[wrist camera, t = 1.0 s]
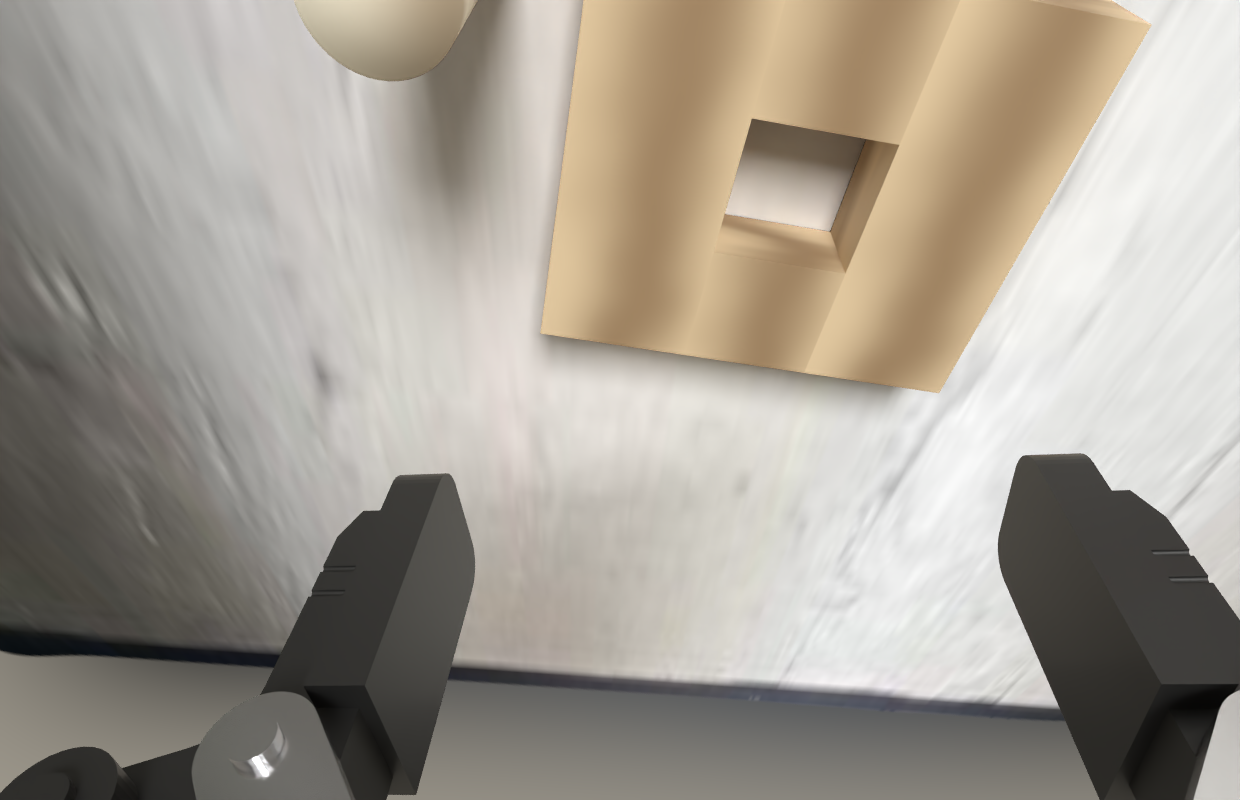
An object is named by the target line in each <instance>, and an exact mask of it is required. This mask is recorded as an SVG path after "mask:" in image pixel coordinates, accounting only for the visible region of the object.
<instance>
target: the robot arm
mask: <svg viewBox="0 0 1240 800" xmlns="http://www.w3.org/2000/svg"><path fill="white" fill-rule="evenodd" d="M998 556H999V563H1000V568H1001V572H1002V576H1003V578H1004V581H1005V583H1006V586H1007V588H1008V590H1009V593H1010V595H1011V597H1012V599H1013V602H1014V604H1015V606H1016V609H1017V611H1018V613H1019V616H1020V618H1021V620H1022V622H1023V625H1024V627H1025V629H1026V632H1027V634H1028V636H1029V638H1030V641H1031V643H1032V645H1033V648H1034V650H1035V652H1036V655H1037V657H1038V659H1039V661H1040V664H1041V666H1042V668H1043V671H1044V673H1045V675H1046V678H1047V680H1048V682H1049V684H1050V687H1051V689H1052V691H1053V694H1054V696H1055V698H1056V700H1057V703H1058V705H1059V707H1060V710H1061V712H1062V714H1063V717H1064V719H1065V721H1066V723H1067V725H1068V728H1069V730H1070V732H1071V734H1072V737H1073V739H1074V742H1075V744H1076V746H1077V749H1078V751H1079V753H1080V755H1081V758H1082V760H1083V762H1084V765H1085V767H1086V769H1087V772H1088V774H1089V776H1090V779H1091V781H1092V783H1093V785H1094V788H1095V790H1096V792H1097V794H1098V797H1099V799H1100V800H1240V620H1239V618H1238V617H1237V616H1236V614H1235V613H1234V611H1233V610H1232V609H1231V607H1230V606H1229V604H1228V603H1227V602H1226V600H1225V599H1224V597H1223V596H1222V595H1221V593H1220V592H1219V590H1218V589H1217V588H1216V586H1215V585H1214V583H1209V581H1208V575H1207V574H1206V572H1205V571H1204V569H1203V568H1202V567H1201V565H1200V564H1199V562H1198V561H1197V560H1196V558H1195V557H1194V556H1190V554H1189V548H1188V547H1187V545H1186V544H1185V543H1184V541H1183V540H1182V538H1181V537H1180V536H1179V534H1178V533H1177V531H1176V530H1175V529H1174V527H1173V526H1172V524H1171V523H1170V522H1169V520H1168V519H1167V517H1165V516H1164V515H1163V514H1161V513H1160V512H1159V511H1157V510H1156V509H1155V508H1153V507H1152V506H1151V505H1149V504H1148V503H1147V502H1145V501H1144V500H1143V499H1141V498H1140V497H1139V496H1137V495H1136V494H1134V493H1133V492H1132V491H1130V490H1120V491H1112V490H1111V489H1110V487H1109V486H1108V484H1107V483H1106V481H1105V480H1104V478H1103V477H1102V475H1101V474H1100V472H1099V471H1098V469H1097V468H1096V466H1095V465H1094V463H1093V462H1092V460H1091V459H1090V458H1089V457H1088V456H1087V455H1085V454H1081V453H1079V454H1050V455H1025V456H1022V457H1021V458H1020V459H1019V461H1018V463H1017V466H1016V469H1015V473H1014V477H1013V481H1012V485H1011V489H1010V493H1009V496H1008V500H1007V504H1006V508H1005V512H1004V516H1003V520H1002V524H1001V528H1000V532H999V538H998ZM323 567H324V571H323V572H320V574H319V576H318V578H317V580H316V582H315V584H314V587H313V589H312V596H311V597H308V599H307V601H306V603H305V605H304V607H303V609H302V611H301V613H300V615H299V617H298V620H297V622H296V624H295V626H294V628H293V630H292V632H291V634H290V636H289V638H288V640H287V642H286V644H285V646H284V648H283V650H282V653H281V655H280V657H279V659H278V661H277V663H276V665H275V667H274V669H273V671H272V673H271V675H270V677H269V679H268V681H267V684H266V686H265V687H264V689H263V691H262V693H261V694H260V695H259V696H256V697H253V698H251V699H249V700H247V701H245V702H243V703H241V704H240V705H238V706H236V707H234V708H233V709H232V710H230V711H229V712H228V713H226V714H225V715H224V716H223V717H222V718H220V720H218V721H217V722H216V723H215V724H214V725H213V727H212V728H211V729H210V730H209V731H208V732H207V734H206V735H205V737H204V738H203V740H202V741H201V743H200V744H198V745H196V746H193V747H190V748H187V749H184V750H181V751H177V752H174V753H171V754H167V755H164V756H161V757H157V758H154V759H151V760H148V761H144V762H141V763H138V764H134V765H131V766H128V767H125V768H121V767H120V766H119V765H118V763H117V762H116V761H115V760H114V759H113V758H112V757H111V756H110V755H109V753H107V752H106V751H104V750H102V749H99V748H95V747H78V748H72V749H68V750H65V751H61V752H59V753H57V754H54V755H51V756H49V757H47V758H45V759H44V760H42V761H40V762H38V763H36V764H35V765H33V766H32V767H30V768H28V769H27V770H26V771H25V772H23V773H22V774H20V775H19V776H18V777H17V778H15V779H14V780H13V781H12V782H11V783H10V784H9V785H8V786H7V787H6V788H5V789H4V790H3V791H2V792H1V793H0V800H386V799H387V796H388V795H416V793H417V789H418V786H419V782H420V778H421V775H422V771H423V767H424V764H425V760H426V756H427V753H428V749H429V745H430V742H431V738H432V735H433V731H434V727H435V724H436V720H437V716H438V712H439V709H440V705H441V702H442V698H443V694H444V691H445V687H446V683H447V680H448V676H449V672H450V669H451V665H452V661H453V658H454V654H455V650H456V647H457V643H458V639H459V636H460V632H461V628H462V625H463V621H464V617H465V614H466V610H467V606H468V603H469V599H470V595H471V592H472V588H473V583H474V575H475V556H474V548H473V544H472V540H471V537H470V533H469V530H468V526H467V523H466V519H465V516H464V513H463V509H462V506H461V502H460V499H459V495H458V492H457V488H456V485H455V482H454V480H453V478H452V476H451V475H450V474H420V475H400V476H398V477H396V478H395V480H394V481H393V483H392V485H391V488H390V490H389V492H388V494H387V497H386V499H385V501H384V503H383V506H382V508H381V510H380V511H363V512H362V513H361V514H360V515H359V516H358V517H357V518H356V519H355V520H354V521H353V522H352V523H351V524H350V525H349V526H348V527H347V528H346V529H345V530H344V531H343V532H342V533H341V534H340V535H339V536H338V537H337V539H336V541H335V543H334V545H333V547H332V549H331V551H330V554H329V556H328V558H327V560H326V562H325V564H324V566H323Z"/></svg>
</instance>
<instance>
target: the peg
mask: <svg viewBox="0 0 1240 800" xmlns="http://www.w3.org/2000/svg"><path fill="white" fill-rule="evenodd" d="M477 1H478V0H294V2H295V5H296V7H297V10H298V12H299V15H300V17H301V19H302V21H303V23H304V25H305V26H306V28H307V29H308V31H309V32H310V34H311V35H312V37H313V38H314V39H315V40H316V42H317V43H318V44H319V45H320V46H321V47H322V48H323V49H324V50H325V51H326V52H327V53H328V54H329V55H330V56H331V57H332V58H333V59H335V60H336V61H337V62H339V63H340V64H342V65H343V66H345V67H346V68H348V69H350V70H352V71H354V72H356V73H358V74H360V75H363V76H366V77H368V78H373V79H377V80H383V81H402V80H408V79H412V78H415V77H418V76H421V75H423V74H425V73H427V72H428V71H430V70H431V69H433V68H434V67H435V66H437V65H438V64H439V63H440V62H441V61H442V60H443V59H444V57H445V56H446V55H447V53H448V52H449V50H450V49H451V47H452V45H453V43H454V42H455V40H456V38H457V36H458V35H459V33H460V31H461V29H462V28H463V26H464V24H465V22H466V21H467V19H468V17H469V15H470V13H471V12H472V10H473V8H474V6H475V5H476V3H477Z"/></svg>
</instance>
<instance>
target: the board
mask: <svg viewBox="0 0 1240 800" xmlns="http://www.w3.org/2000/svg"><path fill="white" fill-rule="evenodd" d="M1150 27H1151V24H1149V23H1148V22H1146V21H1144V20H1143V19H1141V18H1140V17H1138V16H1136V15H1135V14H1133V13H1131V12H1130V11H1128V10H1126V9H1125V8H1123V7H1121V6H1120V5H1118V4H1117V3H1115V2H1113V1H1112V0H584V1H583V9H582V17H581V25H580V32H579V40H578V48H577V55H576V63H575V71H574V79H573V86H572V94H571V102H570V109H569V117H568V125H567V133H566V140H565V148H564V156H563V163H562V171H561V179H560V186H559V194H558V202H557V210H556V217H555V225H554V233H553V240H552V248H551V256H550V264H549V271H548V279H547V287H546V294H545V302H544V310H543V318H542V325H541V334H547V335H554V336H561V337H567V338H574V339H581V340H588V341H594V342H601V343H608V344H614V345H621V346H628V347H634V348H641V349H648V350H654V351H661V352H668V353H674V354H681V355H688V356H695V357H701V358H708V359H715V360H721V361H728V362H735V363H741V364H748V365H755V366H761V367H768V368H775V369H781V370H788V371H795V372H802V373H808V374H815V375H822V376H828V377H835V378H842V379H848V380H855V381H862V382H868V383H875V384H882V385H888V386H895V387H902V388H909V389H915V390H922V391H929V392H935V393H939V392H940V391H941V389H942V387H943V385H944V384H945V382H946V380H947V379H948V377H949V375H950V373H951V372H952V370H953V368H954V366H955V365H956V363H957V361H958V359H959V358H960V356H961V354H962V353H963V351H964V349H965V347H966V346H967V344H968V342H969V340H970V339H971V337H972V335H973V333H974V332H975V330H976V328H977V327H978V325H979V323H980V321H981V320H982V318H983V316H984V314H985V313H986V311H987V309H988V307H989V306H990V304H991V302H992V301H993V299H994V297H995V295H996V294H997V292H998V290H999V288H1000V287H1001V285H1002V283H1003V281H1004V280H1005V278H1006V276H1007V275H1008V273H1009V271H1010V269H1011V268H1012V266H1013V264H1014V262H1015V261H1016V259H1017V257H1018V255H1019V254H1020V252H1021V250H1022V249H1023V247H1024V245H1025V243H1026V242H1027V240H1028V238H1029V236H1030V235H1031V233H1032V231H1033V229H1034V228H1035V226H1036V224H1037V223H1038V221H1039V219H1040V217H1041V216H1042V214H1043V212H1044V210H1045V209H1046V207H1047V205H1048V203H1049V202H1050V200H1051V198H1052V197H1053V195H1054V193H1055V191H1056V190H1057V188H1058V186H1059V184H1060V183H1061V181H1062V179H1063V177H1064V176H1065V174H1066V172H1067V171H1068V169H1069V167H1070V165H1071V164H1072V162H1073V160H1074V158H1075V157H1076V155H1077V153H1078V151H1079V150H1080V148H1081V146H1082V145H1083V143H1084V141H1085V139H1086V138H1087V136H1088V134H1089V132H1090V131H1091V129H1092V127H1093V125H1094V124H1095V122H1096V120H1097V119H1098V117H1099V115H1100V113H1101V112H1102V110H1103V108H1104V106H1105V105H1106V103H1107V101H1108V100H1109V98H1110V96H1111V94H1112V93H1113V91H1114V89H1115V87H1116V86H1117V84H1118V82H1119V80H1120V79H1121V77H1122V75H1123V74H1124V72H1125V70H1126V68H1127V67H1128V65H1129V63H1130V61H1131V60H1132V58H1133V56H1134V54H1135V53H1136V51H1137V49H1138V48H1139V46H1140V44H1141V42H1142V41H1143V39H1144V37H1145V35H1146V34H1147V32H1148V30H1149V28H1150ZM752 119H758V120H763V121H769V122H775V123H780V124H786V125H791V126H797V127H802V128H808V129H813V130H819V131H824V132H830V133H836V134H841V135H847V136H852V137H858V138H863V139H866V141H865V144H864V146H863V149H862V152H861V154H860V157H859V159H858V162H857V164H856V167H855V170H854V172H853V175H852V177H851V180H850V182H849V185H848V188H847V190H846V193H845V195H844V198H843V200H842V203H841V206H840V208H839V211H838V213H837V216H836V219H835V221H834V224H833V226H832V229H831V231H830V232H828V231H822V230H816V229H810V228H804V227H798V226H792V225H786V224H780V223H774V222H768V221H762V220H756V219H750V218H744V217H738V216H732V215H726V214H725V211H726V208H727V204H728V201H729V197H730V194H731V190H732V187H733V183H734V179H735V176H736V172H737V169H738V165H739V162H740V158H741V155H742V151H743V148H744V144H745V141H746V137H747V134H748V130H749V127H750V123H751V120H752Z"/></svg>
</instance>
